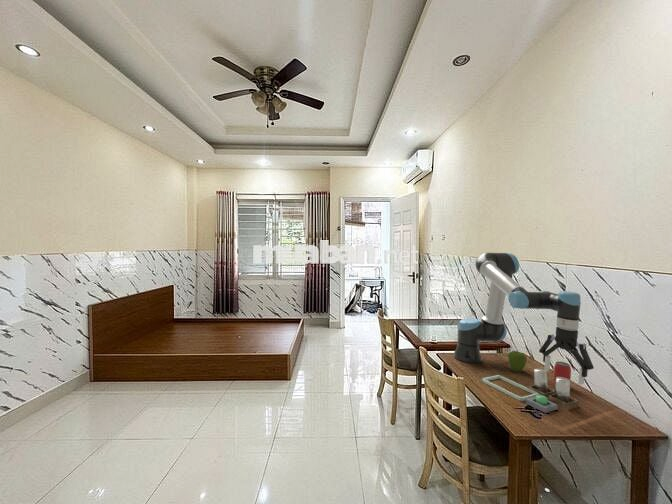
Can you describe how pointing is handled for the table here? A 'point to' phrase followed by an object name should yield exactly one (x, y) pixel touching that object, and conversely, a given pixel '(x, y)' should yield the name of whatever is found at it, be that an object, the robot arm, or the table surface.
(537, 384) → the cylinder
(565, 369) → the beer can
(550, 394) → the tray
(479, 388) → the table surface
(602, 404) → the table surface
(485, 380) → the tray
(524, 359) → the apple
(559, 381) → the cylinder
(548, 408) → the grey square button housing
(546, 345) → the robot arm
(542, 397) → the button
